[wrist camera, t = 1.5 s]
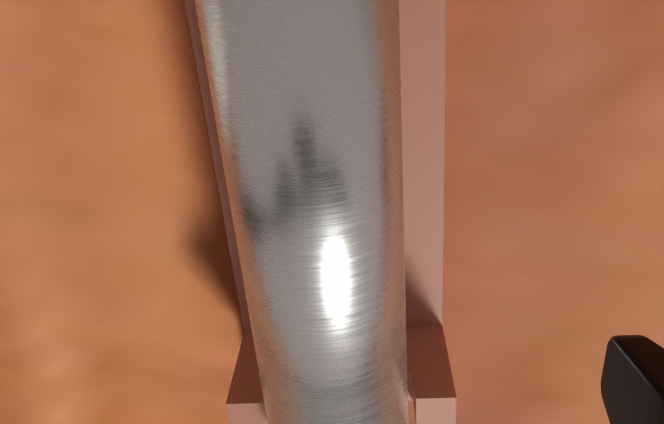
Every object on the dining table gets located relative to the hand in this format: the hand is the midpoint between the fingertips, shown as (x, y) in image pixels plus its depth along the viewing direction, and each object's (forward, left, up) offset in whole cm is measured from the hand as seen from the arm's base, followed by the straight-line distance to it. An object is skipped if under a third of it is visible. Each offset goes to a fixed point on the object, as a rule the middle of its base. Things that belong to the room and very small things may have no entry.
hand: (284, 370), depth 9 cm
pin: (0, -1, -8) cm, 8 cm away
